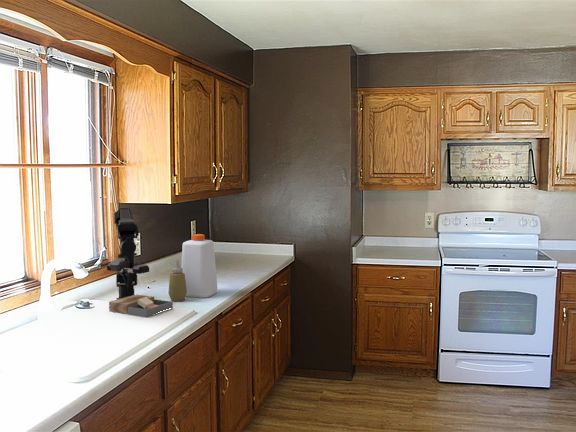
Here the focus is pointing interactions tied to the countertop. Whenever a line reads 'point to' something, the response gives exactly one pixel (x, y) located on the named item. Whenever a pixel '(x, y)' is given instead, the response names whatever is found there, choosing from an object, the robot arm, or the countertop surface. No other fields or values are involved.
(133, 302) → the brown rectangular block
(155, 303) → the charcoal bin
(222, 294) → the countertop surface
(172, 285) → the squeeze bottle
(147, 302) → the cream block
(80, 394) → the countertop surface
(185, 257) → the plastic bottle
